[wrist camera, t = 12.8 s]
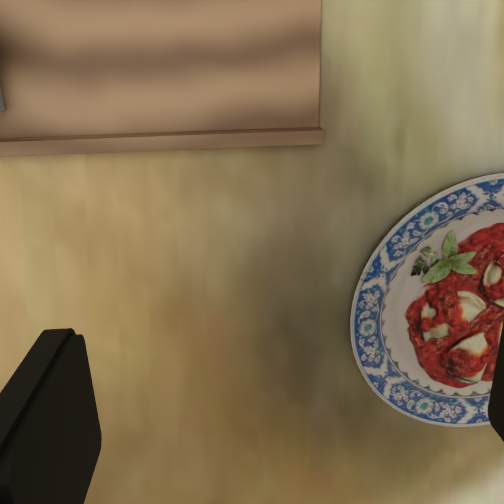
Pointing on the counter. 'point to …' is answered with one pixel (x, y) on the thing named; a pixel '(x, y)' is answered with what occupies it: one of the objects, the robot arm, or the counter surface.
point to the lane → (158, 75)
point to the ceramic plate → (436, 306)
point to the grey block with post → (1, 102)
